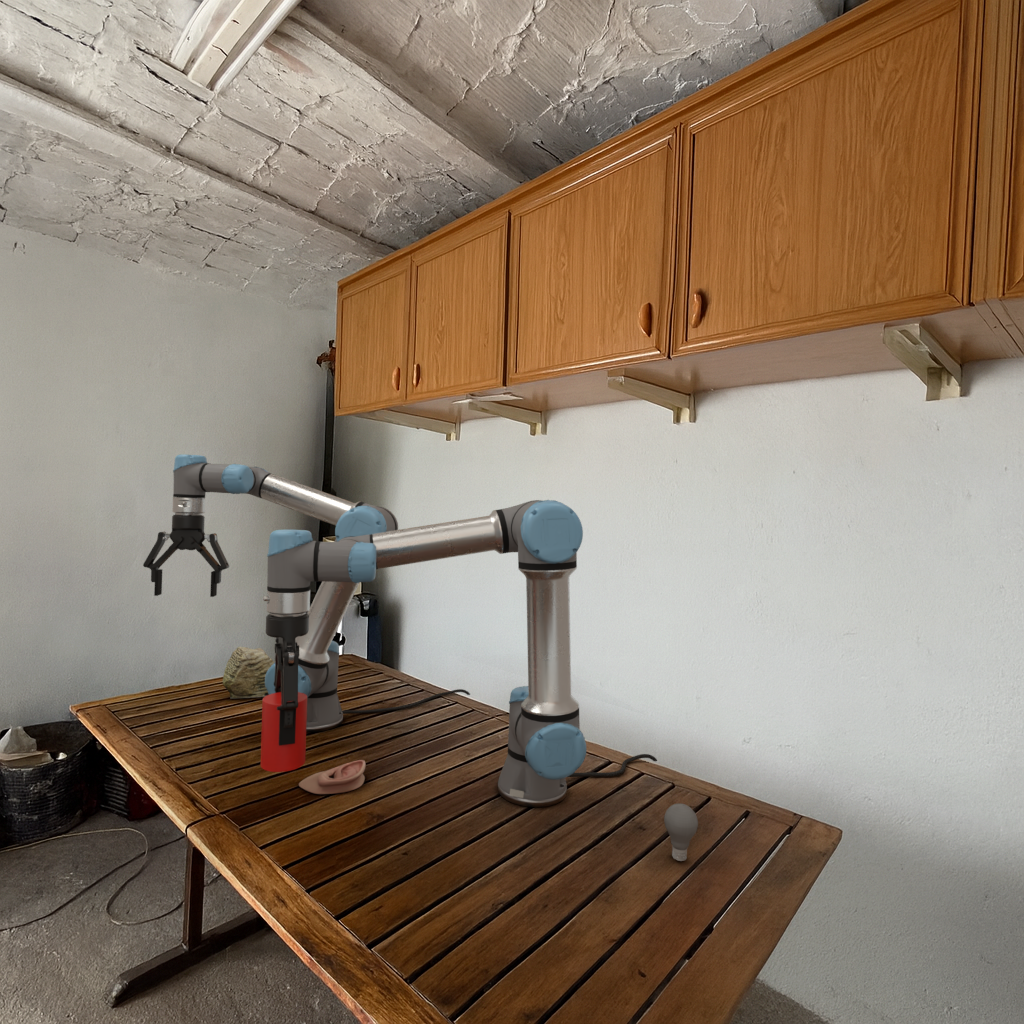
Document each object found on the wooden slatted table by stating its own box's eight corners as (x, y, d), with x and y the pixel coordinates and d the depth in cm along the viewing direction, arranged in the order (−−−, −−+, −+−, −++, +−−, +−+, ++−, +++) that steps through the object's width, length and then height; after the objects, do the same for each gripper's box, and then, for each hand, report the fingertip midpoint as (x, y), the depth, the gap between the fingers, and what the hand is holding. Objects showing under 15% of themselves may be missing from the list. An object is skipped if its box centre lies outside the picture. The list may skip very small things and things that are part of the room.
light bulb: (658, 850, 118) (660, 797, 118) (689, 850, 119) (691, 797, 119) (668, 869, 112) (671, 813, 112) (701, 868, 113) (704, 813, 113)
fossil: (218, 695, 195) (220, 647, 195) (278, 685, 208) (279, 640, 207) (228, 703, 189) (230, 653, 188) (289, 692, 201) (290, 645, 201)
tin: (289, 774, 113) (291, 706, 113) (251, 768, 115) (253, 701, 114) (313, 757, 120) (315, 694, 120) (277, 752, 122) (279, 689, 122)
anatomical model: (291, 772, 135) (318, 751, 147) (291, 790, 136) (317, 768, 147) (349, 780, 133) (372, 758, 144) (348, 799, 133) (371, 776, 144)
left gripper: (130, 512, 159) (127, 596, 160) (235, 516, 163) (232, 598, 163) (143, 511, 167) (140, 592, 167) (242, 515, 170) (240, 594, 171)
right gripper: (261, 604, 125) (258, 719, 125) (271, 625, 106) (267, 759, 107) (301, 603, 128) (297, 715, 128) (318, 622, 109) (313, 753, 110)
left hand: (185, 595), depth 165 cm, fingers open, 13 cm apart
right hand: (284, 735), depth 118 cm, fingers closed on tin, 8 cm apart
